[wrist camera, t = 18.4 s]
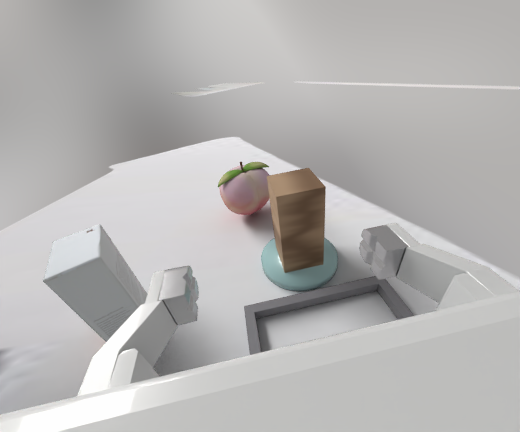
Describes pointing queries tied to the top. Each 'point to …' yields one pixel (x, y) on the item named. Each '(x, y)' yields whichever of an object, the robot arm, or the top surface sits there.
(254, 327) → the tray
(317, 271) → the teal round disc
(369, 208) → the top surface
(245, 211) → the decorative fruit
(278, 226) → the walnut block
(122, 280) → the skincare box
